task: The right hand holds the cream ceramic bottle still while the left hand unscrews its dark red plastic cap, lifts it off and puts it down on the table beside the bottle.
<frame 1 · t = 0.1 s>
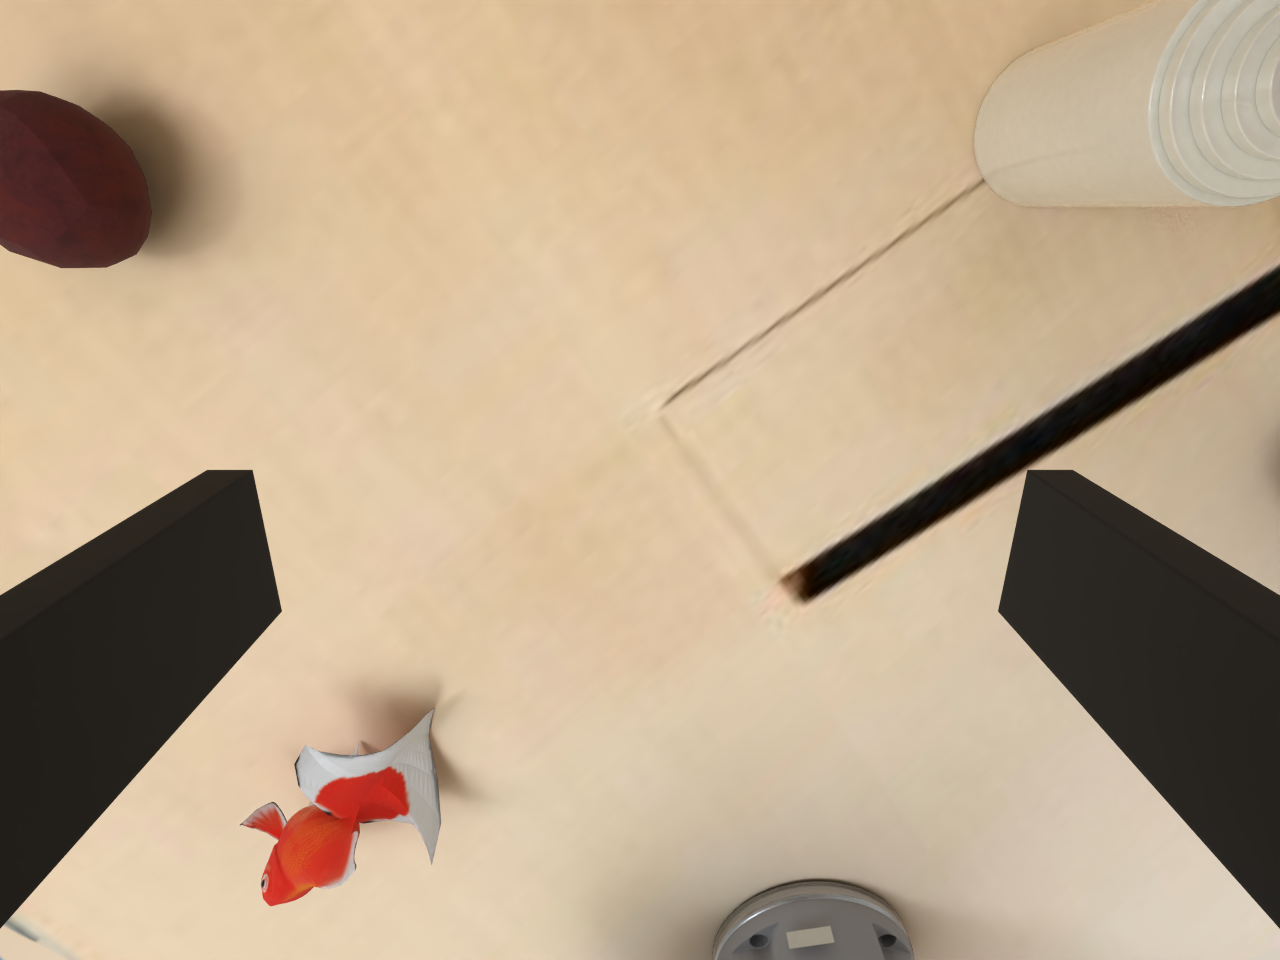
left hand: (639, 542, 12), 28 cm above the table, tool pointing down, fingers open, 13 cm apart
dark red ball: (111, 188, 36), on the table
bottle: (1048, 127, 35), on the table
fish: (370, 757, 49), on the table
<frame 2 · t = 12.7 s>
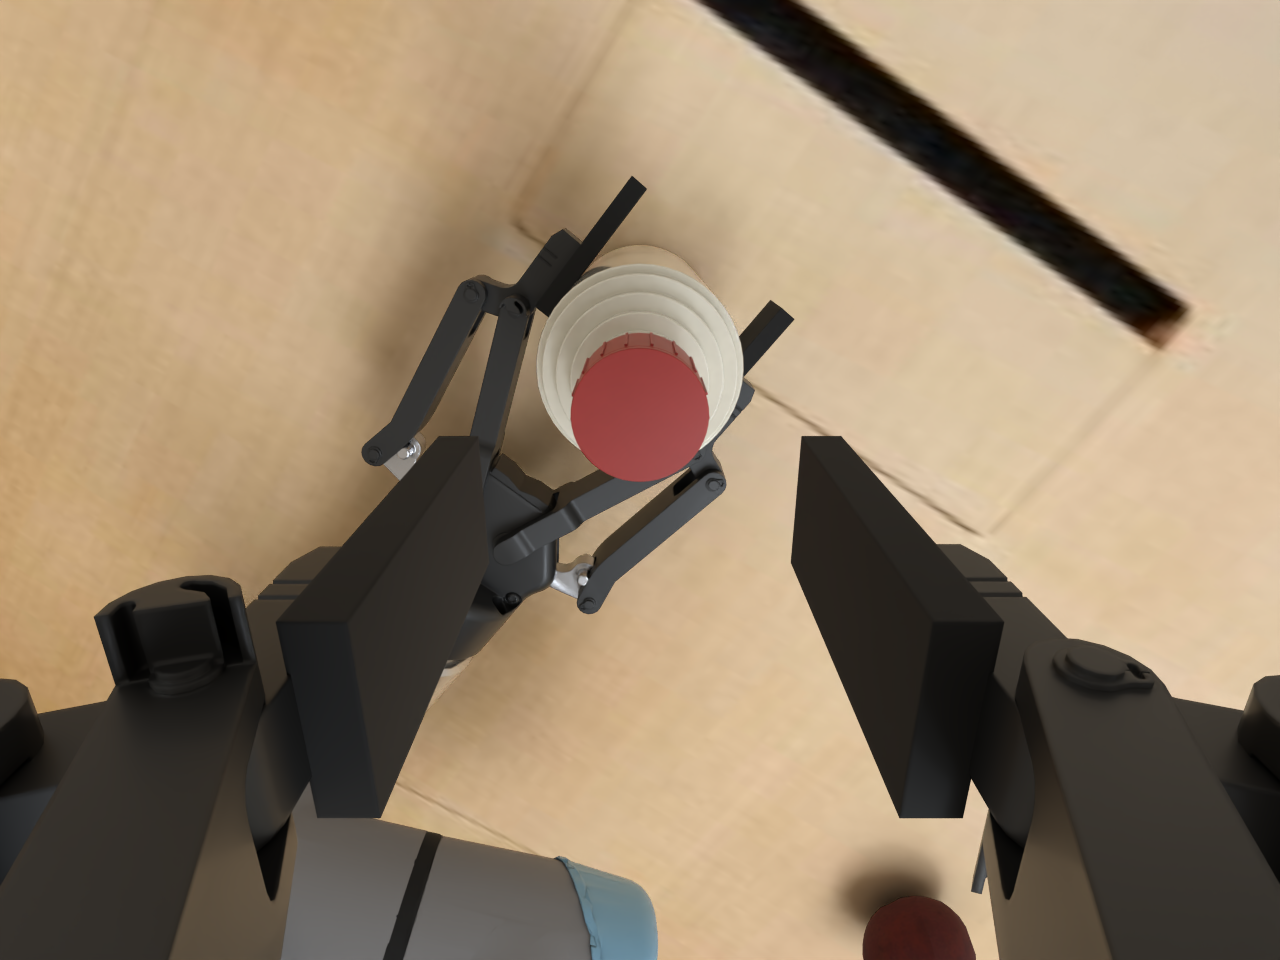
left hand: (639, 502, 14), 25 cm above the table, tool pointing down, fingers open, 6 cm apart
right hand: (712, 248, 30), fingers closed on bottle, 7 cm apart
dark red ball: (901, 907, 53), on the table
bottle: (639, 318, 37), on the table, touching right hand
cap: (639, 414, 20), point 19 cm above the table, screwed on, not yet turned
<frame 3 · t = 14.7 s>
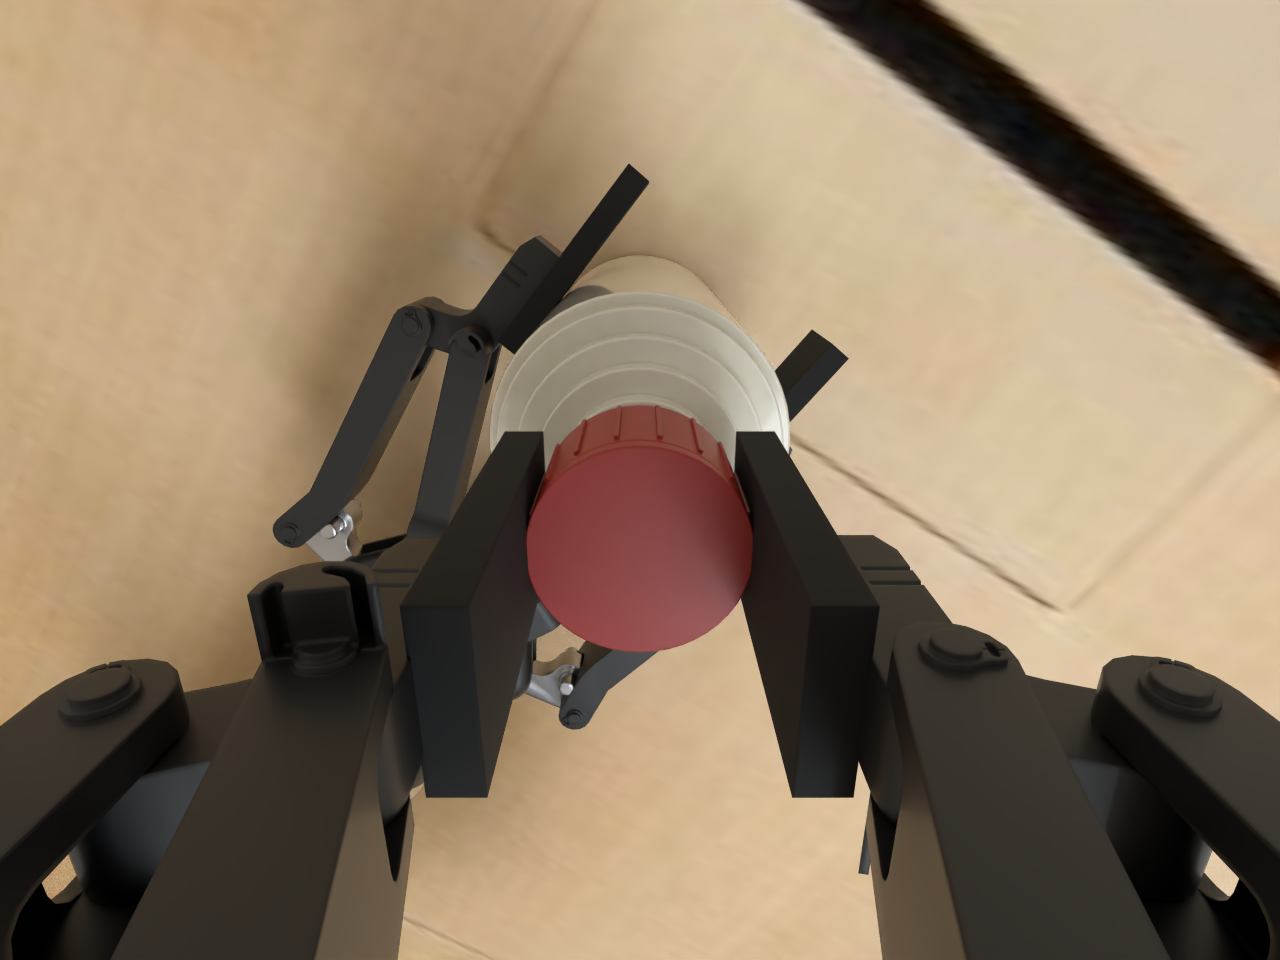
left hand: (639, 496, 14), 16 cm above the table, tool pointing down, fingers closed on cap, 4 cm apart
right hand: (737, 263, 22), fingers closed on bottle, 7 cm apart
bottle: (639, 347, 30), on the table, touching right hand
cap: (639, 547, 12), point 19 cm above the table, screwed on, not yet turned, touching left hand
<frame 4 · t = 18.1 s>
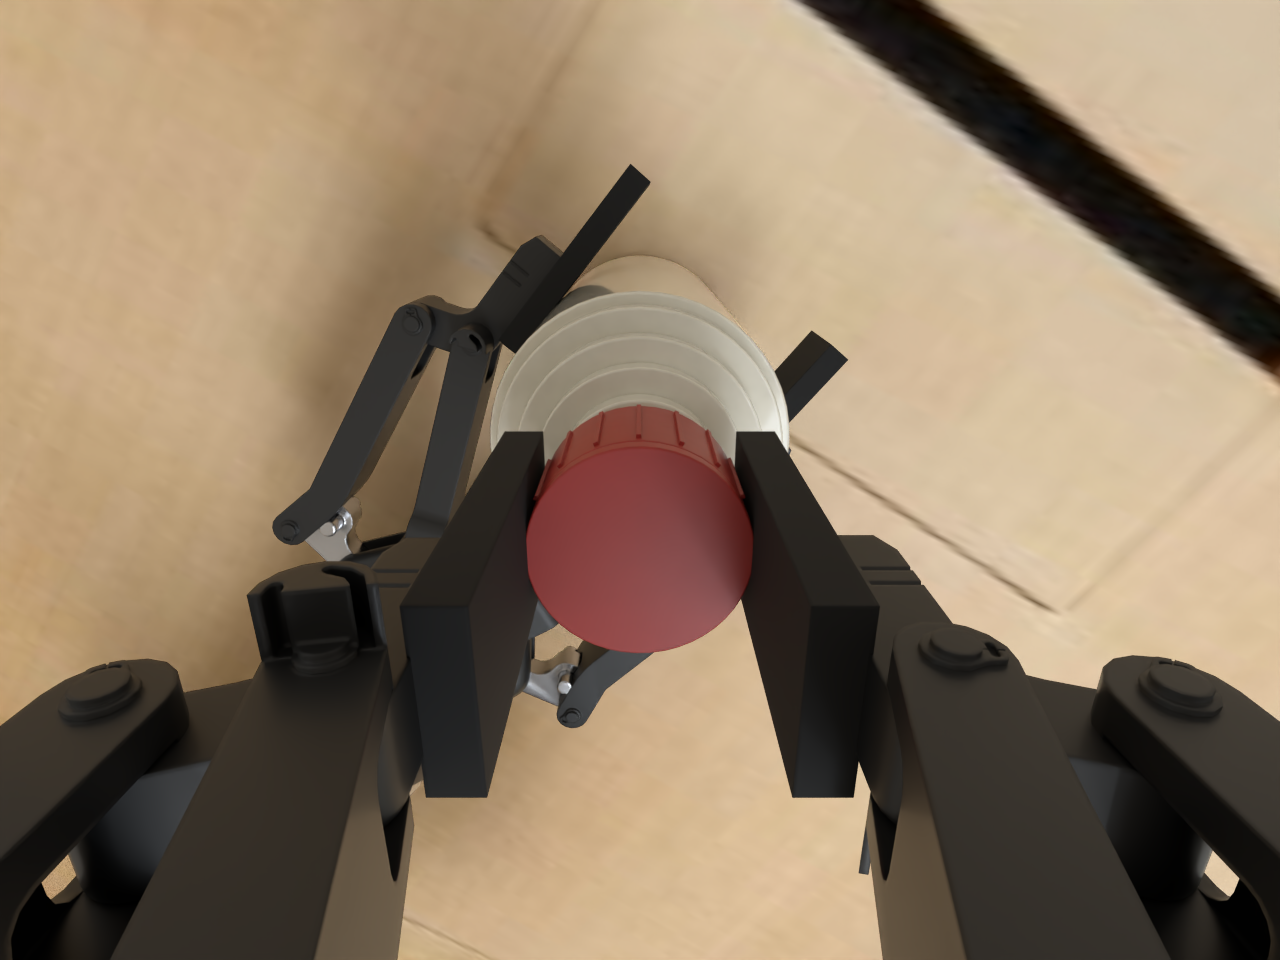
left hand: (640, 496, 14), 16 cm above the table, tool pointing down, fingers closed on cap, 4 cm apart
right hand: (737, 263, 23), fingers closed on bottle, 7 cm apart
bottle: (639, 347, 30), on the table, touching right hand
cap: (639, 548, 12), point 19 cm above the table, turned 95° so far, risen 0.1 cm, still on its thread, touching left hand
when the left hand's fingers open (1 cm above the table, at t = 31.2 s): cap stays where it is, point 2 cm above the table.
when the right hand's fingers open (6 cm above the table, at t = 32.5 s): bottle stays where it is, on the table.
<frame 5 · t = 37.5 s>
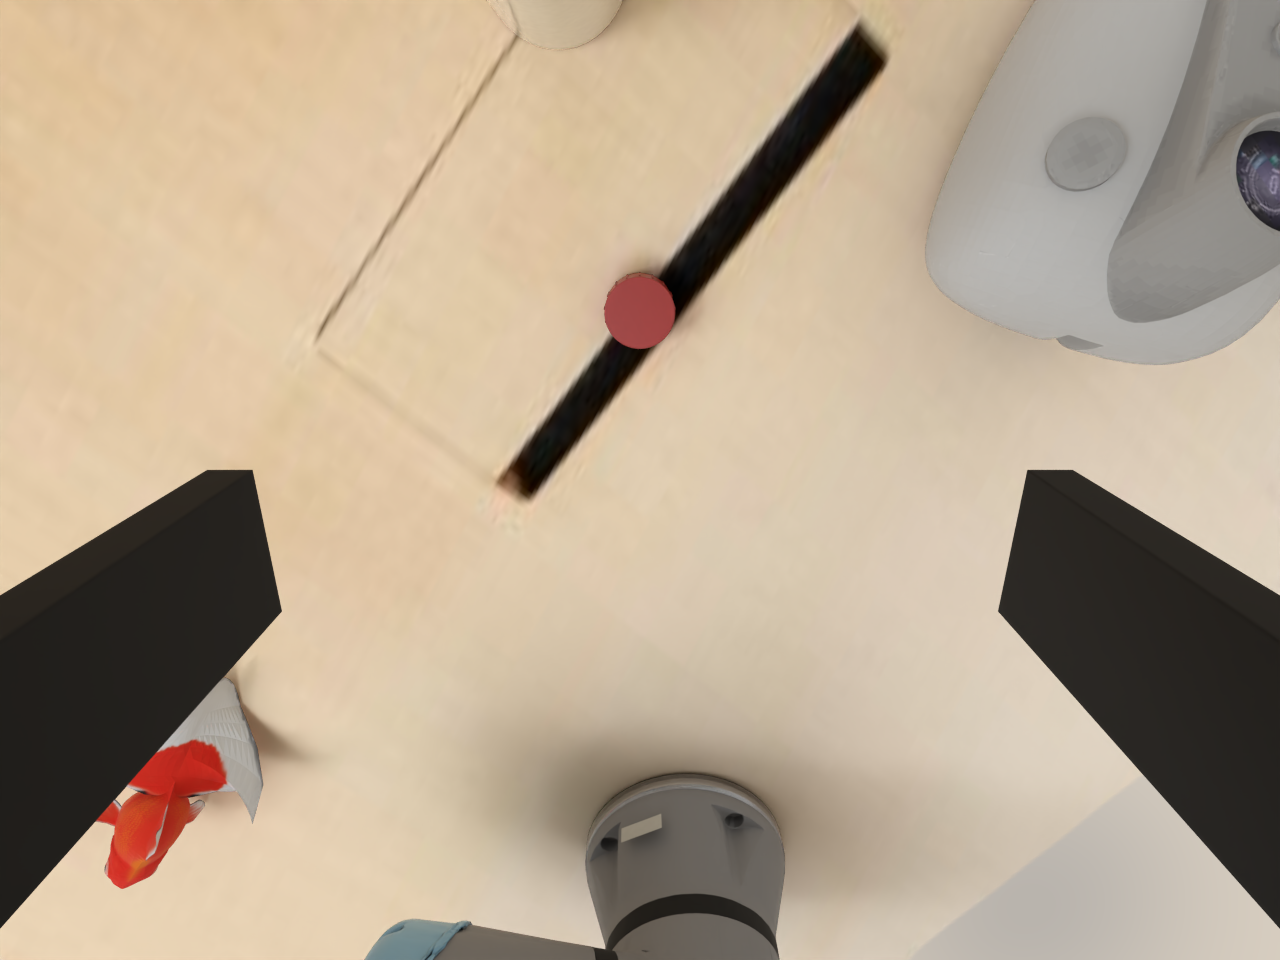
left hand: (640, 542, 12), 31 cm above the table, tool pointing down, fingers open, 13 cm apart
fish: (201, 740, 52), on the table
cap: (639, 312, 39), point 2 cm above the table, off its thread
projector: (1102, 112, 37), on the table
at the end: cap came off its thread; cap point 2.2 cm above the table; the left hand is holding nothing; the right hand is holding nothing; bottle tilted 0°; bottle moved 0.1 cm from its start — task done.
